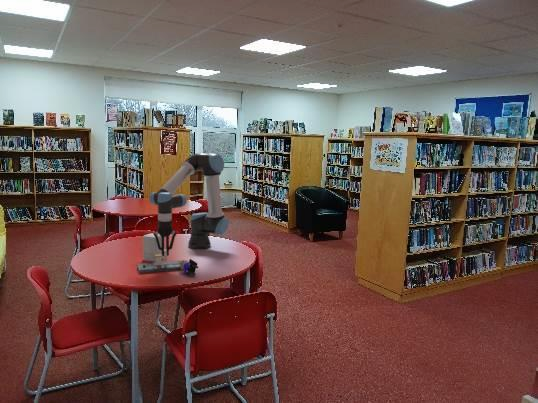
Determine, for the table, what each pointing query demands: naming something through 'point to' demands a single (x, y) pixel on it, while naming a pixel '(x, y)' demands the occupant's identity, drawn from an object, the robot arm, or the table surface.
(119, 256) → the table surface
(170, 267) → the panel
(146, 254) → the supplement box
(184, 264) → the character figurine
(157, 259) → the block
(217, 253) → the table surface
